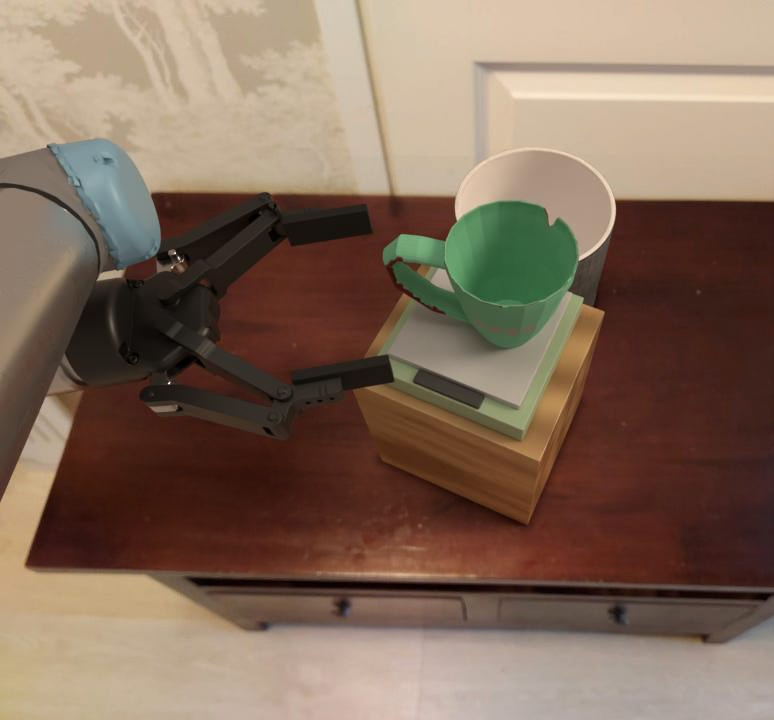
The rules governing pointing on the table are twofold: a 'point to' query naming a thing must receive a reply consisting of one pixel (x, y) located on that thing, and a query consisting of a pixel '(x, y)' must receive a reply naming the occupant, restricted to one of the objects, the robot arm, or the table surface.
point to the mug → (492, 269)
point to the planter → (550, 201)
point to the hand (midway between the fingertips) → (380, 288)
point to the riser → (480, 429)
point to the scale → (476, 363)
